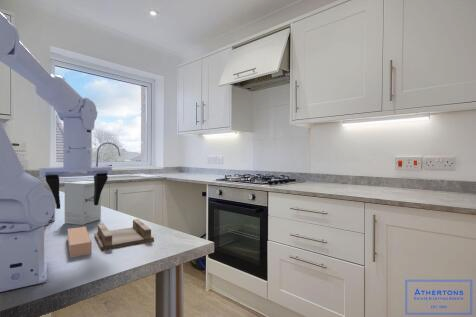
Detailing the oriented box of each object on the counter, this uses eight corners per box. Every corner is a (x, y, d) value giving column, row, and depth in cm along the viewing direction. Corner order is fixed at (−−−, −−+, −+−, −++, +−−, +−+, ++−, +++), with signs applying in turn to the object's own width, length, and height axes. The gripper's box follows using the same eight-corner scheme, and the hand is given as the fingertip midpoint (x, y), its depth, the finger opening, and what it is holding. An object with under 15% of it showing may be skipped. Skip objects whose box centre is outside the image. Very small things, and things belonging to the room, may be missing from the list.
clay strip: (91, 255, 58) (91, 241, 58) (70, 259, 56) (70, 245, 56) (85, 237, 70) (85, 226, 70) (67, 240, 68) (67, 228, 68)
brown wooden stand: (153, 240, 67) (154, 228, 67) (101, 250, 60) (101, 237, 60) (140, 228, 77) (141, 218, 77) (94, 236, 70) (94, 224, 70)
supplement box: (83, 225, 80) (83, 183, 80) (63, 223, 82) (63, 182, 81) (101, 219, 87) (101, 181, 87) (83, 217, 89) (83, 180, 89)
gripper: (108, 149, 70) (108, 200, 70) (39, 148, 62) (40, 206, 62) (113, 149, 64) (113, 205, 65) (39, 148, 56) (39, 212, 56)
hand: (77, 206), depth 63 cm, fingers open, 7 cm apart
